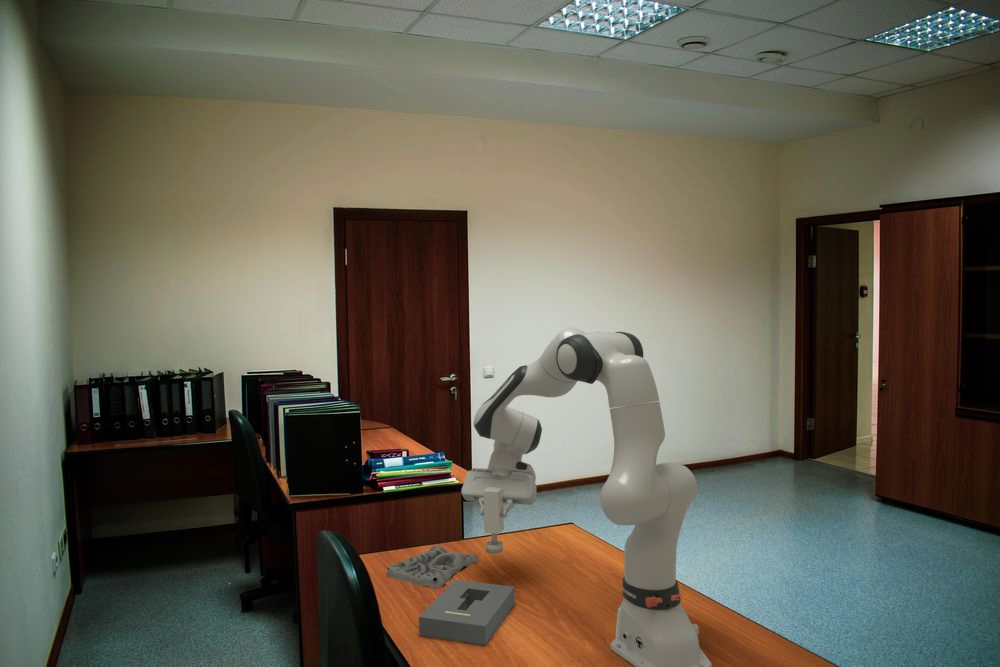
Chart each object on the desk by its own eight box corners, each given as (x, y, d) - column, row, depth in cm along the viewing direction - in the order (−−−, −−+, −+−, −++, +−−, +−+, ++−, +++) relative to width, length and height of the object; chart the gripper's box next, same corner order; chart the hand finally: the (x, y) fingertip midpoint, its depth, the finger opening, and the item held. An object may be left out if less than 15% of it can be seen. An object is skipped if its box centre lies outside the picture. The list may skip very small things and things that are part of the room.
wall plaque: (438, 591, 187) (437, 577, 187) (382, 577, 197) (382, 563, 197) (486, 562, 207) (486, 549, 207) (433, 551, 217) (433, 538, 217)
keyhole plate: (455, 596, 183) (454, 578, 182) (514, 604, 178) (514, 586, 177) (419, 635, 162) (418, 616, 161) (485, 645, 157) (485, 625, 156)
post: (489, 546, 190) (488, 486, 189) (505, 548, 188) (503, 487, 187) (484, 552, 185) (482, 491, 185) (500, 554, 184) (498, 492, 183)
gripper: (465, 461, 196) (452, 506, 187) (537, 465, 189) (527, 512, 180) (471, 474, 200) (459, 518, 191) (541, 478, 194) (532, 524, 185)
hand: (493, 515), depth 186 cm, fingers closed on post, 4 cm apart
